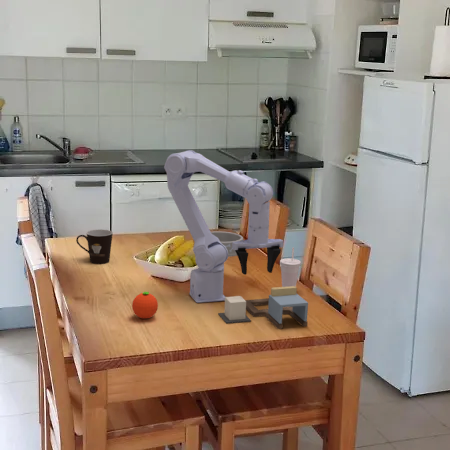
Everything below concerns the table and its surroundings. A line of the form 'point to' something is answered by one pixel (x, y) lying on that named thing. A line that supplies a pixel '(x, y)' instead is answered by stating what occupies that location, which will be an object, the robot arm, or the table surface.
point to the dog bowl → (228, 240)
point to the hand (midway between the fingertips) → (256, 272)
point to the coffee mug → (98, 245)
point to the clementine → (145, 305)
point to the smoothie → (289, 270)
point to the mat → (233, 320)
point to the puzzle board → (264, 312)
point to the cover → (286, 303)
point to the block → (235, 308)
